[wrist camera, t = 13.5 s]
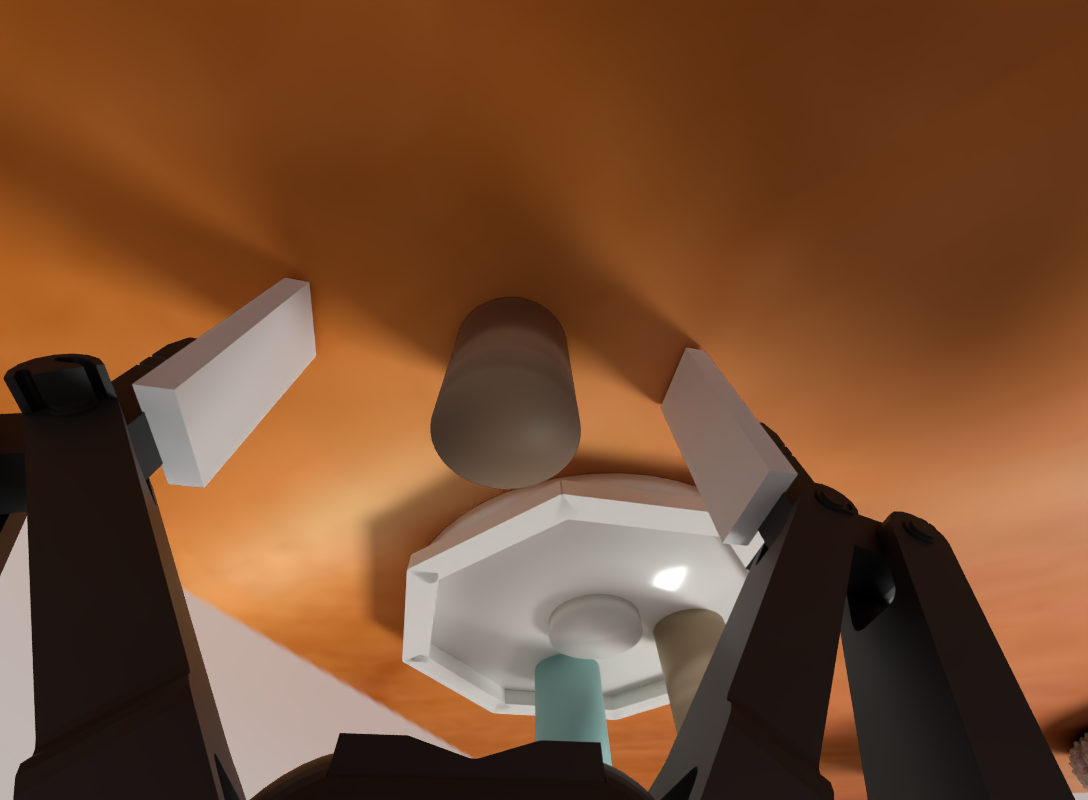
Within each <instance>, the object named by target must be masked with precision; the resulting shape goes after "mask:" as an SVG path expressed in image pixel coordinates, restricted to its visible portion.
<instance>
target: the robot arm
mask: <svg viewBox="0 0 1088 800" xmlns="http://www.w3.org/2000/svg"><path fill="white" fill-rule="evenodd" d="M315 356H316V348H315V337H314V326H313V315H312V304H311V294H310V283H309V282H307V281H301V280H295V279H289V278H283V279H282V280H281V281H279V282H278V283H276V284H275V285H273V286H272V287H270V288H269V289H268V290H266V291H265V292H263V293H262V294H260V295H259V296H258V297H256V298H255V299H253V300H252V301H250V302H249V303H248V304H246V305H245V306H243V307H242V308H240V309H239V310H238V311H236V312H235V313H233V314H232V315H230V316H229V317H228V318H226V319H225V320H223V321H222V322H220V323H219V324H217V325H216V326H215V327H213V328H212V329H210V330H209V331H207V332H206V333H205V334H203V335H202V336H200V337H199V338H197V339H196V338H186V339H183V340H180V341H177V342H174V343H171V344H168V345H166V346H165V347H163V348H162V349H160V350H159V351H157V352H156V353H154V354H153V355H152V357H148V358H147V359H145V360H143V361H142V362H140V365H136V366H134V367H133V368H131V369H130V370H128V371H127V372H125V373H124V374H122V375H121V376H119V377H118V378H116V379H115V380H113V381H111V380H110V378H109V375H108V373H107V370H106V368H105V365H104V363H103V362H102V361H101V360H100V359H99V358H96V357H93V356H90V355H82V354H59V355H51V356H45V357H40V358H35V359H32V360H29V361H26V362H23V363H20V364H18V365H17V366H15V367H13V368H12V369H10V370H8V371H7V373H6V374H5V376H4V378H3V379H4V381H5V382H6V384H7V386H8V388H9V390H10V391H11V393H12V395H13V397H14V399H15V401H16V402H17V404H18V406H19V408H20V410H21V412H22V413H14V414H0V574H1V573H2V570H3V568H4V566H5V563H6V561H7V559H8V557H9V554H10V552H11V550H12V548H13V546H14V543H15V541H16V539H17V537H18V534H19V532H20V530H21V528H22V526H23V523H24V521H25V519H26V517H27V522H28V547H29V574H30V597H31V598H30V599H31V625H32V652H33V675H34V676H33V679H34V705H35V731H36V744H35V750H34V753H33V756H32V757H30V758H29V759H27V760H26V761H24V762H23V763H21V764H20V766H19V769H18V771H17V774H16V777H15V786H14V800H246V798H245V795H244V792H243V789H242V786H241V783H240V780H239V777H238V775H237V772H236V769H235V766H234V764H233V761H232V757H231V754H230V752H229V748H228V745H227V741H226V738H225V735H224V731H223V728H222V725H221V721H220V717H219V714H218V710H217V707H216V704H215V700H214V697H213V693H212V690H211V687H210V683H209V679H208V676H207V673H206V669H205V666H204V662H203V659H202V655H201V652H200V649H199V646H198V642H197V638H196V635H195V632H194V628H193V624H192V621H191V617H190V614H189V611H188V608H187V604H186V600H185V597H184V593H183V590H182V586H181V583H180V580H179V576H178V573H177V569H176V566H175V562H174V559H173V555H172V552H171V549H170V545H169V542H168V538H167V535H166V531H165V528H164V525H163V521H162V518H161V514H160V511H159V507H158V504H157V500H156V497H155V494H154V490H153V487H152V484H151V482H150V479H149V477H150V476H151V475H152V474H153V473H154V472H155V471H156V470H157V469H158V468H159V467H160V466H161V465H162V468H163V471H164V473H165V476H166V479H167V481H168V484H174V485H184V486H193V487H202V488H204V487H205V486H206V485H207V484H208V483H209V482H210V480H211V479H212V478H213V477H214V476H215V474H216V473H217V472H218V471H219V470H220V469H221V467H222V466H223V465H224V464H225V463H226V461H227V460H228V459H229V458H230V457H231V456H232V454H233V453H234V452H235V451H236V450H237V448H238V447H239V446H240V445H241V444H242V443H243V441H244V440H245V439H246V438H247V437H248V436H249V434H250V433H251V432H252V431H253V430H254V428H255V427H256V426H257V425H258V424H259V423H260V421H261V420H262V419H263V418H264V417H265V415H266V414H267V413H268V412H269V411H270V410H271V408H272V407H273V406H274V405H275V404H276V402H277V401H278V400H279V399H280V398H281V397H282V395H283V394H284V393H285V392H286V391H287V390H288V388H289V387H290V386H291V385H292V384H293V382H294V381H295V380H296V379H297V378H298V377H299V375H300V374H301V373H302V372H303V371H304V369H305V368H306V367H307V366H308V365H309V364H310V362H311V361H312V360H313V359H314V358H315ZM661 410H662V412H663V414H664V416H665V419H666V421H667V423H668V425H669V427H670V430H671V432H672V434H673V436H674V438H675V440H676V443H677V445H678V447H679V449H680V451H681V454H682V456H683V458H684V460H685V462H686V464H687V467H688V469H689V471H690V473H691V475H692V478H693V480H694V482H695V484H696V486H697V488H698V491H699V493H700V495H701V497H702V499H703V502H704V504H705V506H706V508H707V510H708V512H709V515H710V517H711V519H712V521H713V523H714V526H715V528H716V530H717V532H718V534H719V536H720V539H721V541H722V543H726V544H735V545H744V546H748V545H749V543H750V542H751V541H752V539H753V538H754V536H755V535H756V533H757V532H758V531H759V533H760V535H761V537H762V538H763V540H764V543H763V545H762V546H761V547H760V549H759V550H758V552H757V553H756V554H755V556H754V557H753V559H752V560H751V561H750V563H749V564H748V565H747V567H746V569H747V570H749V573H748V575H747V577H746V579H745V582H744V584H743V586H742V589H741V591H740V593H739V595H738V598H737V600H736V602H735V605H734V607H733V609H732V611H731V614H730V616H729V618H728V621H727V623H726V625H725V627H724V630H723V632H722V634H721V637H720V639H719V641H718V644H717V646H716V648H715V650H714V653H713V655H712V657H711V660H710V662H709V664H708V666H707V669H706V671H705V673H704V676H703V678H702V680H701V682H700V685H699V687H698V689H697V692H696V694H695V696H694V698H693V701H692V703H691V705H690V708H689V710H688V712H687V714H686V717H685V719H684V721H683V724H682V726H681V728H680V731H679V733H678V735H677V737H676V740H675V742H674V744H673V747H672V749H671V751H670V753H669V756H668V758H667V760H666V762H665V764H664V766H663V768H662V770H661V771H660V773H659V775H658V776H657V778H656V780H655V781H654V783H653V784H652V786H651V788H650V790H649V791H648V792H647V791H646V790H645V789H644V788H643V787H642V786H641V785H640V784H639V783H637V782H636V781H635V780H633V779H632V778H630V777H629V776H628V775H626V774H625V773H623V772H622V771H620V770H618V769H616V768H614V767H612V766H611V765H608V764H606V763H603V757H602V748H601V742H578V741H549V740H540V741H536V742H533V743H530V744H526V745H523V746H520V747H516V748H513V749H509V750H506V751H503V752H499V753H496V754H493V755H489V756H486V757H482V758H478V759H472V758H468V757H465V756H462V755H459V754H456V753H454V752H451V751H448V750H446V749H443V748H440V747H438V746H435V745H432V744H429V743H427V742H424V741H421V740H419V739H416V738H413V737H410V736H407V735H378V734H348V733H340V734H339V738H338V741H337V744H336V748H335V751H334V753H333V754H329V755H326V756H322V757H320V758H317V759H315V760H312V761H310V762H308V763H305V764H303V765H301V766H299V767H297V768H296V769H294V770H292V771H290V772H288V773H287V774H284V775H283V776H281V777H280V778H278V779H277V780H276V781H274V782H272V783H271V784H270V785H268V786H267V787H265V788H264V789H263V790H261V791H260V792H259V793H258V794H256V795H255V796H254V797H253V798H252V799H250V800H834V791H833V788H832V785H831V782H829V781H828V780H827V779H826V778H825V777H823V776H822V775H821V774H820V772H819V761H820V754H821V748H822V742H823V736H824V730H825V723H826V717H827V711H828V705H829V699H830V693H831V686H832V680H833V674H834V668H835V662H836V655H837V649H838V643H839V637H840V632H841V638H842V645H843V651H844V657H845V663H846V669H847V675H848V681H849V687H850V694H851V700H852V706H853V712H854V718H855V724H856V730H857V736H858V742H859V749H860V755H861V761H862V767H863V773H864V779H865V785H866V791H867V797H868V800H1075V798H1074V796H1073V794H1072V792H1071V790H1070V788H1069V786H1068V784H1067V782H1066V780H1065V778H1064V776H1063V774H1062V772H1061V770H1060V768H1059V766H1058V764H1057V762H1056V760H1055V757H1054V755H1053V753H1052V751H1051V749H1050V747H1049V745H1048V743H1047V741H1046V739H1045V737H1044V735H1043V733H1042V731H1041V729H1040V727H1039V725H1038V723H1037V721H1036V719H1035V717H1034V715H1033V713H1032V711H1031V709H1030V707H1029V705H1028V703H1027V701H1026V699H1025V697H1024V695H1023V693H1022V690H1021V688H1020V686H1019V684H1018V682H1017V680H1016V678H1015V676H1014V674H1013V672H1012V670H1011V668H1010V666H1009V664H1008V662H1007V660H1006V658H1005V656H1004V654H1003V652H1002V650H1001V648H1000V646H999V644H998V642H997V640H996V638H995V636H994V634H993V632H992V630H991V628H990V625H989V623H988V621H987V619H986V617H985V615H984V613H983V611H982V609H981V607H980V605H979V603H978V601H977V599H976V597H975V595H974V593H973V591H972V589H971V587H970V585H969V583H968V581H967V579H966V577H965V575H964V573H963V571H962V569H961V567H960V565H959V563H958V561H957V558H956V556H955V554H954V552H953V550H952V548H951V546H950V544H949V543H948V541H947V540H946V539H945V537H944V536H943V535H942V534H941V533H940V532H939V531H938V530H936V528H935V527H934V526H933V525H931V524H930V523H929V524H928V522H927V521H925V520H923V519H921V518H918V517H916V516H914V515H911V514H908V513H905V512H895V511H894V512H893V513H891V514H890V515H889V516H888V517H887V518H886V519H885V521H884V522H883V523H881V522H878V521H875V520H873V519H870V518H867V517H864V516H861V515H859V514H858V510H857V509H856V507H855V506H854V504H853V503H852V502H851V501H850V500H849V499H848V498H846V497H845V496H844V495H843V494H841V493H839V492H838V491H836V490H835V489H833V488H830V487H828V486H826V485H823V484H818V483H814V481H813V480H812V479H811V477H810V476H809V475H808V474H807V472H806V471H805V470H804V468H803V467H802V466H801V465H800V463H799V462H798V461H797V460H796V458H795V457H794V456H792V453H791V452H790V451H789V449H788V448H787V447H785V444H784V443H783V442H782V440H781V439H780V438H779V436H778V435H777V434H776V433H775V432H774V431H772V430H771V429H770V428H769V427H767V426H766V425H765V424H764V423H760V422H758V420H757V419H756V418H755V416H754V415H753V414H752V412H751V411H750V410H749V408H748V407H747V406H746V404H745V403H744V402H743V400H742V399H741V398H740V396H739V395H738V394H737V392H736V391H735V390H734V388H733V387H732V386H731V384H730V383H729V382H728V380H727V379H726V378H725V376H724V375H723V374H722V372H721V371H720V370H719V368H718V367H717V366H716V365H715V363H714V362H713V361H712V359H711V358H710V357H709V355H708V354H707V353H706V351H704V350H698V349H693V348H687V347H686V348H685V351H684V353H683V355H682V358H681V360H680V362H679V365H678V367H677V370H676V372H675V374H674V377H673V379H672V381H671V384H670V386H669V389H668V391H667V393H666V396H665V398H664V401H663V403H662V405H661Z"/></svg>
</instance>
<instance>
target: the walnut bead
mask: <svg viewBox="0 0 1088 800" xmlns="http://www.w3.org/2000/svg"><path fill="white" fill-rule="evenodd" d="M580 435H581V427H580V419H579V413H578V407H577V401H576V395H575V389H574V383H573V377H572V371H571V364H570V358H569V352H568V346H567V340H566V336H565V333H564V330H563V328H562V326H561V324H560V323H559V321H558V320H557V319H556V317H555V316H554V315H553V314H552V313H551V312H550V311H549V310H547V309H546V308H545V307H543V306H542V305H540V304H538V303H536V302H533V301H531V300H528V299H524V298H517V297H503V298H497V299H494V300H490V301H488V302H486V303H483V304H482V305H480V306H478V307H477V308H476V309H474V310H473V311H472V312H471V313H470V314H469V315H468V316H467V317H466V319H465V320H464V322H463V323H462V325H461V327H460V330H459V333H458V336H457V339H456V342H455V345H454V349H453V352H452V355H451V358H450V361H449V364H448V367H447V371H446V374H445V377H444V380H443V383H442V386H441V389H440V392H439V396H438V399H437V402H436V405H435V408H434V411H433V414H432V418H431V437H432V442H433V444H434V447H435V449H436V451H437V453H438V455H439V456H440V458H441V459H442V460H443V462H444V463H445V464H446V465H447V466H448V467H449V468H450V469H451V470H453V471H454V472H455V473H457V474H458V475H460V476H461V477H463V478H465V479H467V480H469V481H471V482H473V483H476V484H479V485H482V486H486V487H491V488H498V489H517V488H524V487H529V486H533V485H536V484H539V483H541V482H544V481H546V480H548V479H550V478H551V477H553V476H555V475H556V474H557V473H559V472H560V471H561V470H562V469H563V468H565V467H566V466H567V465H568V463H569V462H570V461H571V459H572V458H573V456H574V455H575V453H576V451H577V448H578V446H579V441H580Z"/></svg>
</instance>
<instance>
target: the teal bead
mask: <svg viewBox="0 0 1088 800" xmlns="http://www.w3.org/2000/svg"><path fill="white" fill-rule="evenodd" d="M540 740H549V741H578V742H601V748H602V757H603V763H606V764H608V765H611V766H612V762H611V754H610V747H609V739H608V731H607V723H606V715H605V708H604V700H603V692H602V684H601V677H600V669H599V664H598V663H597V662H596V661H595V660H594V659H579V658H574V657H570V656H567V655H564V654H559V655H554V656H551V657H548V658H546V659H544V660H542V661H541V662H539V663H538V664H537V666H536V667H535V742H536V741H540Z"/></svg>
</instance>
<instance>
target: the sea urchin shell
mask: <svg viewBox="0 0 1088 800" xmlns="http://www.w3.org/2000/svg"><path fill="white" fill-rule="evenodd" d="M1084 736H1085V737H1080V740H1079V741H1075V742H1073V743H1074V747H1072V748H1069V749H1070V751H1069V753H1070V755H1071V756H1070V757H1069V760H1070V761H1071V762H1070V763H1069V764H1070V766H1071V767H1072V768H1073V770H1072V773H1073V774H1075V775H1076V776H1077V778H1078V780H1079V781H1080V782H1081V784H1083V787H1084V788H1085V789H1087V790H1088V732H1085V733H1084Z"/></svg>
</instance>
